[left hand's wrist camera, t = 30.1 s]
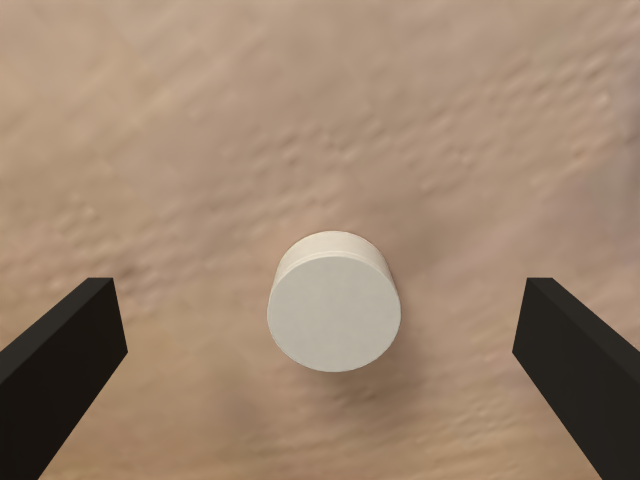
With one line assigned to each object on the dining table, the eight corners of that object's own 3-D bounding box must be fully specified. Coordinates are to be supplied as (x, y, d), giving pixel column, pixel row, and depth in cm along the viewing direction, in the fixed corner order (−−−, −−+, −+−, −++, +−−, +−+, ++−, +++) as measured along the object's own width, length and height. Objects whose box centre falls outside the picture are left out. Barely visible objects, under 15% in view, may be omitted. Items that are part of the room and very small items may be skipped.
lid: (361, 210, 15) (367, 232, 12) (408, 307, 16) (421, 343, 14) (253, 261, 15) (241, 290, 13) (308, 349, 17) (305, 390, 15)
